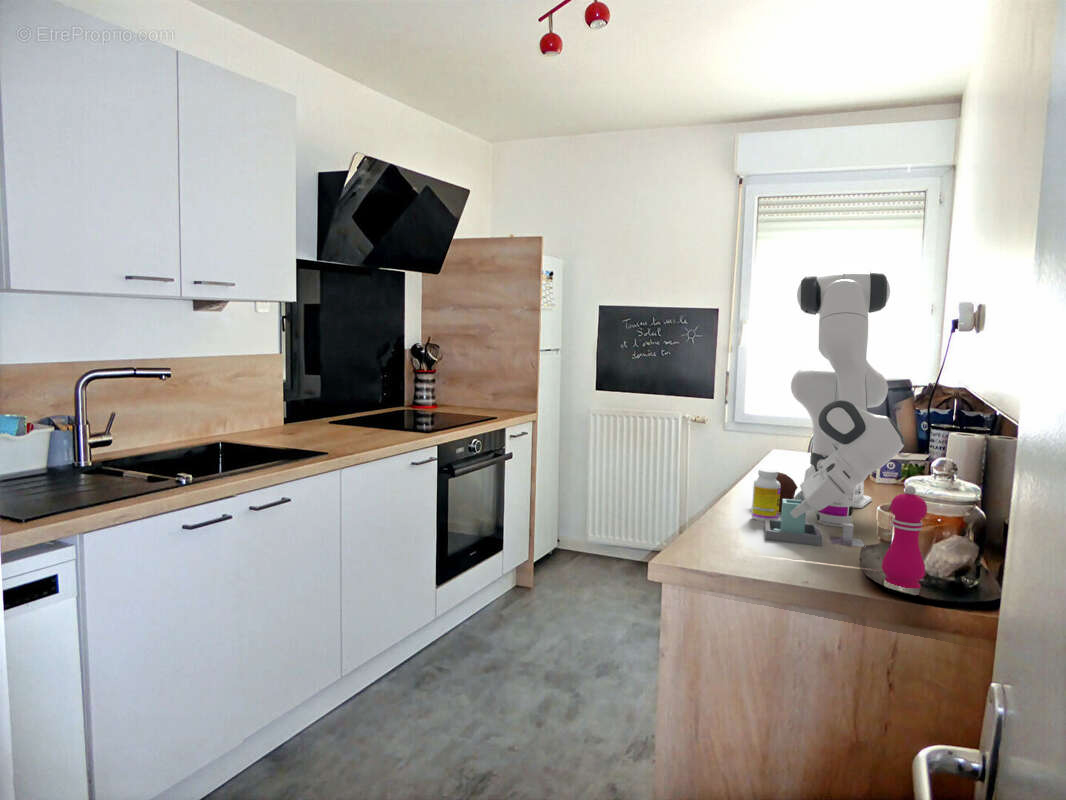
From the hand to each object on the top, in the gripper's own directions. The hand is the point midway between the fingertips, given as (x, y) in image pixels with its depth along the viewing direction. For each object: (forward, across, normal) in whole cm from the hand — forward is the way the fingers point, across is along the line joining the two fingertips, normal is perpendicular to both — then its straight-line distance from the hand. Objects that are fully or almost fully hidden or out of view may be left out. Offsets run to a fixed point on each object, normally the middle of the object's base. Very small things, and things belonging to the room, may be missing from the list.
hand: (791, 510), depth 171 cm
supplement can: (-4, -19, +13) cm, 23 cm away
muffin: (+6, -31, +3) cm, 31 cm away
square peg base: (-4, -1, +14) cm, 14 cm away
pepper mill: (-8, +31, +18) cm, 37 cm away
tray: (+4, 0, +5) cm, 6 cm away
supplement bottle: (+8, -16, +1) cm, 18 cm away
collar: (+4, 0, +4) cm, 6 cm away
